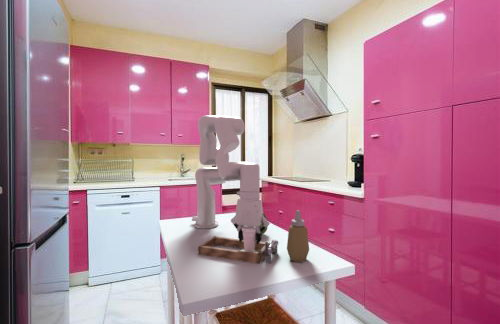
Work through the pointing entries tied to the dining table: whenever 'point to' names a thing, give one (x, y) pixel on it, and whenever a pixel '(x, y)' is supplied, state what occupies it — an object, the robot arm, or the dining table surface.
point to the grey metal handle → (270, 250)
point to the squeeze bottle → (298, 239)
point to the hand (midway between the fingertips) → (249, 241)
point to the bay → (232, 254)
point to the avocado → (263, 225)
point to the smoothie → (249, 238)
